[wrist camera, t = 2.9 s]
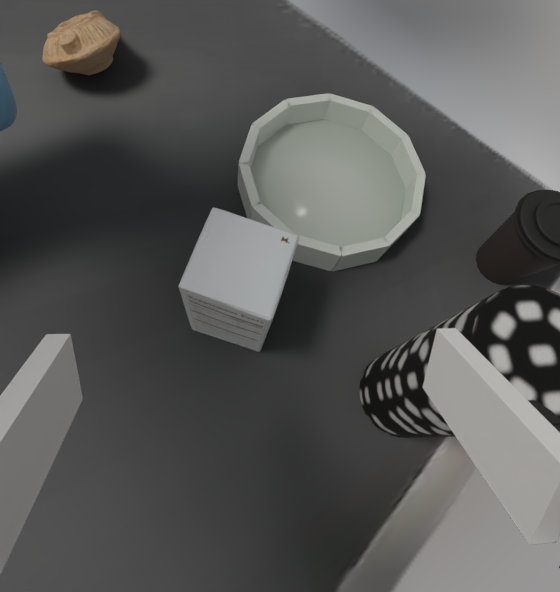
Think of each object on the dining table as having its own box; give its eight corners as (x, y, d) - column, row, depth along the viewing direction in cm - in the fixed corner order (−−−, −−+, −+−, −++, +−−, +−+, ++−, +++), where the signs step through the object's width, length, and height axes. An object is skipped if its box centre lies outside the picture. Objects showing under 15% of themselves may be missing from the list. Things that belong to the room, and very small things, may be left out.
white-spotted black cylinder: (366, 441, 40) (494, 442, 21) (353, 355, 42) (455, 288, 24) (447, 432, 41) (634, 426, 22) (429, 349, 44) (583, 281, 25)
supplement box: (215, 266, 44) (212, 202, 32) (282, 290, 44) (303, 234, 32) (188, 330, 41) (174, 286, 29) (259, 355, 41) (273, 321, 29)
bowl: (218, 240, 45) (218, 221, 41) (265, 101, 52) (268, 75, 48) (395, 289, 45) (411, 275, 42) (418, 146, 52) (433, 123, 49)
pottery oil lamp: (137, 29, 53) (125, -30, 46) (126, 104, 49) (111, 51, 42) (65, 21, 52) (41, -40, 45) (47, 97, 48) (19, 42, 41)
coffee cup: (523, 307, 47) (598, 273, 37) (457, 278, 47) (515, 237, 38) (536, 248, 50) (608, 203, 40) (473, 221, 50) (531, 170, 40)
